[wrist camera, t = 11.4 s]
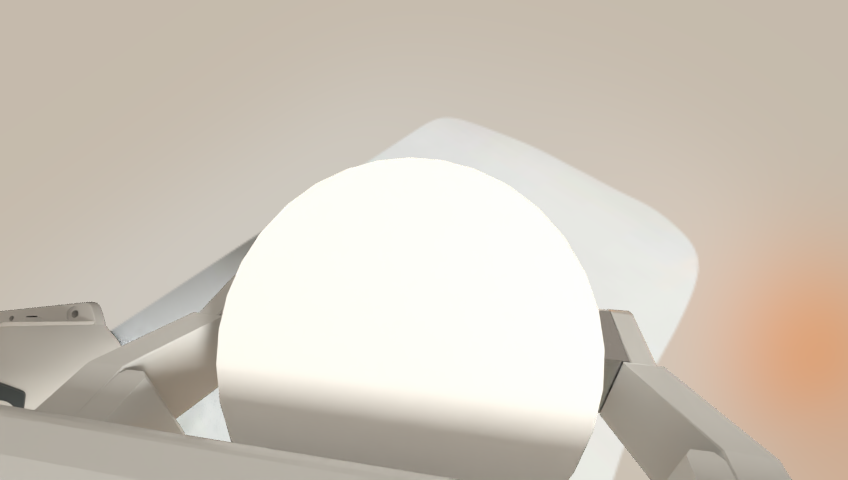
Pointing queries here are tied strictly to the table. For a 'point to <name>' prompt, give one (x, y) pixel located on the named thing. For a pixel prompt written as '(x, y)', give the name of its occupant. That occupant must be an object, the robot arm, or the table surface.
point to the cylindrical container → (414, 329)
